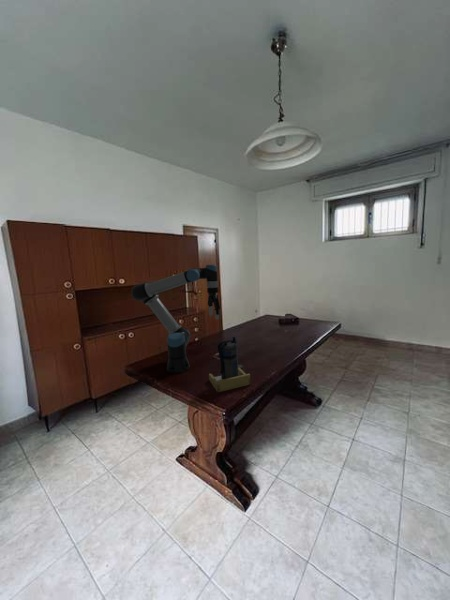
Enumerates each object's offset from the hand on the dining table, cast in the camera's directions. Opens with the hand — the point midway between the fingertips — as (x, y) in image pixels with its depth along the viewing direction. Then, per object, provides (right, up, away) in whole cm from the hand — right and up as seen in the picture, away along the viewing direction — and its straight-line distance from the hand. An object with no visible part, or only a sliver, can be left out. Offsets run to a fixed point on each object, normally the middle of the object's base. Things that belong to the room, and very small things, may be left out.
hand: (214, 317), depth 174 cm
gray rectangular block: (+16, -34, -14) cm, 40 cm away
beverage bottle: (+10, -35, -28) cm, 46 cm away
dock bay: (+10, -36, -28) cm, 47 cm away
